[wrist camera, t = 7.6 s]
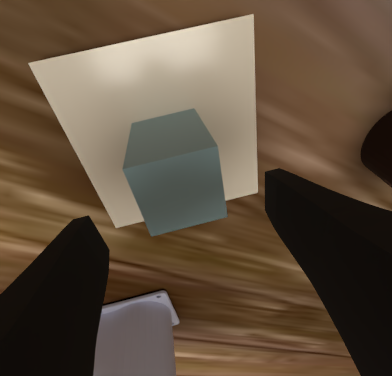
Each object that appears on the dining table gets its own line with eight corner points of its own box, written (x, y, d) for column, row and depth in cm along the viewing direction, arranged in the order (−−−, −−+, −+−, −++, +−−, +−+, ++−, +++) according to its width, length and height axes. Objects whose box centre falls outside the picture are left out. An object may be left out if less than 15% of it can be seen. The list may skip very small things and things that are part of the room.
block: (150, 176, 16) (151, 236, 11) (131, 123, 14) (122, 169, 9) (204, 163, 17) (227, 216, 12) (194, 108, 14) (217, 145, 9)
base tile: (118, 212, 20) (116, 228, 18) (43, 59, 13) (28, 63, 12) (249, 180, 21) (257, 192, 19) (241, 16, 14) (253, 13, 12)
